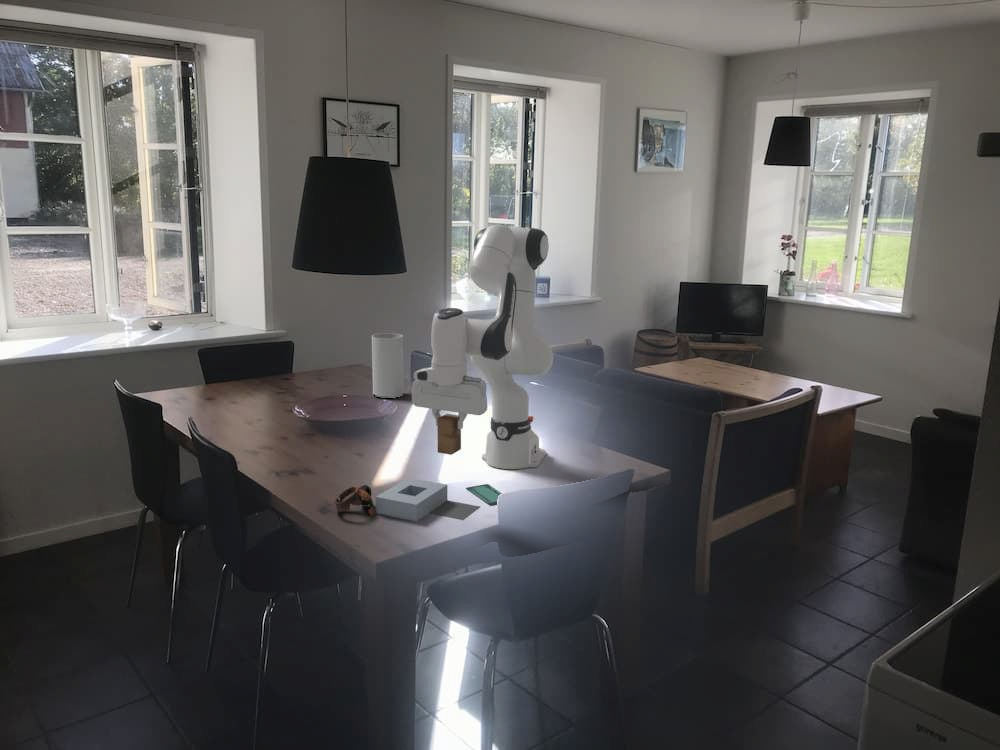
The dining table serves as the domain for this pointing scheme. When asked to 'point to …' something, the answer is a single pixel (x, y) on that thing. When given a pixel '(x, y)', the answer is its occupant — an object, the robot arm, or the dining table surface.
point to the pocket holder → (411, 499)
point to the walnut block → (448, 434)
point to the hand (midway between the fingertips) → (449, 427)
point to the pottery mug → (355, 499)
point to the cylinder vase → (387, 364)
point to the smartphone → (485, 493)
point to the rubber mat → (454, 510)
